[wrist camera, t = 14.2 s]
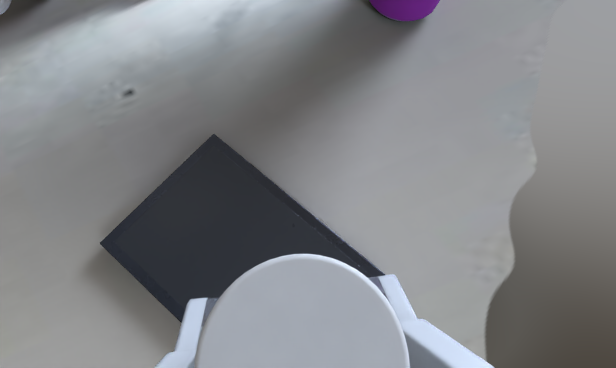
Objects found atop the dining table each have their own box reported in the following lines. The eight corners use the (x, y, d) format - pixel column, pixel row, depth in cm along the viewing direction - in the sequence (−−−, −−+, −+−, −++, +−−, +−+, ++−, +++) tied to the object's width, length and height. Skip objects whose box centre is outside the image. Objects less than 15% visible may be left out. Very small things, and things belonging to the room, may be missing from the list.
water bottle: (338, 306, 16) (458, 347, 4) (299, 358, 15) (319, 574, 4) (292, 266, 16) (291, 208, 5) (252, 315, 16) (137, 383, 4)
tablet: (382, 275, 26) (386, 275, 25) (281, 414, 23) (281, 420, 22) (216, 138, 29) (213, 133, 28) (106, 244, 26) (98, 243, 25)
